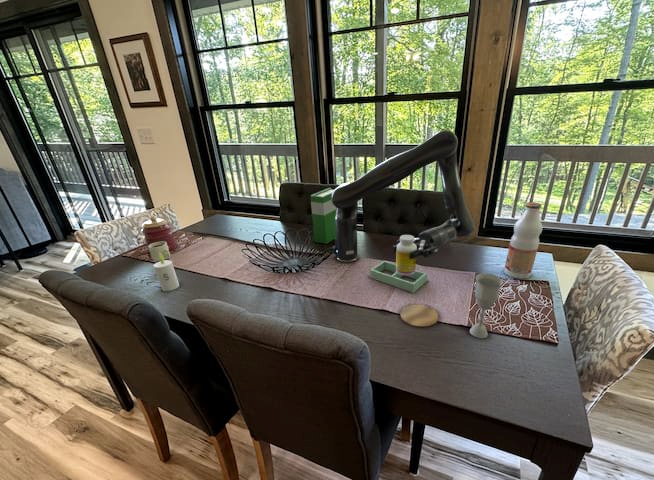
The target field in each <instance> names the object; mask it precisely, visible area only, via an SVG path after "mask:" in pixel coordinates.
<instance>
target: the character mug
mask: <svg viewBox="0 0 654 480" xmlns="http://www.w3.org/2000/svg"><path fill="white" fill-rule="evenodd" d="M148 248H149V250H148V252H149V251H150V252H149V254H150V256H151V260H153V261H154V262H155V263H157V262H160V257H159V252H160V253H161V254H162V256H163V258H164V260H170V261H171V259H170V257H171V251H170V252H169V249H168V246H167V243H166V242H156V243H152V244H150V245H149V246H147V249H148Z"/></svg>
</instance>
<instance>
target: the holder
mask: <svg viewBox="0 0 654 480" xmlns="http://www.w3.org/2000/svg"><path fill="white" fill-rule="evenodd" d="M384 270H385V271H388V272H392V275H391V274H388V273H384V272H383V271H384ZM403 277H405V276H404V275H400V274H398V273H397V272H396V263H394V262H390V261H386V260H383V261H382V262H380V263H379V264H376V265H375V266H373V267H372V268H370V269H369V278H371V279H373V280H377V281H379V282H381V283H384V284H388V285H391V286H393V287H396V288H399V289H402V290H405V291H407V292H410V293H415V292H416V291H417V290H418V289H419V288H421V287H422V286H423V285H424V284H426V282H427V278H428V273H426V272H423V271H420V270H417V269H415V273H414V274H412V275H409V276H406V277H408V278H410V279H414V281H413V282H412V281H408V280H405V279H402V278H403Z"/></svg>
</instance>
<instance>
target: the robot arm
mask: <svg viewBox="0 0 654 480" xmlns="http://www.w3.org/2000/svg"><path fill="white" fill-rule="evenodd" d="M458 140H459V139H458V137H457V135H456V133H455V132H453V130H449V129H442V130H439V131H437V132H436V133H434V134H433V135H432V136H431V137H430V138H428V139H427V140H425V141H423V142H421V143H420V144H418V145H417V146H415V147H414V148H412V149H409V150H406V151H403V152H401V153H399V154H396V155H394V156H392V157H390V158H388V159H386V160H385V161H383V162H380V163H379V164H377V165H376V166H374V167H373V168H371V169H370V170H368V171H367V172H366V173H365V174H363V175H362V176H361V177H359V178H358V179H356V180H354V181H352V182H344V183H341V184H339V185H338V186H337V187H336V188H335V189H333V190H334V192H333V194H332V203H333V205H334V206H335V207H337V212H336V216H335V225H336V238H335V239H334V245H332V246H331V247H328V248H326V249H325V250H324V251H322V252H309V251H300V250H295V249H287V248H286V249H285V248H280V247H276V246H275V247H274V246H270V245H265V244H261V243H256V242H251V241H249V240H248V241H247V240H243V239H240V238H239V239H238V238H235V237H231V236H226V235H220V234H214V233H208V232H198V231H192V234H194V235H204V236H212V237H217V238H223V239H228V240H233V241H237V242H241V243H246V244H248V245H249V244H250V245H253V246H258V247H261V248H267V249H270V250H271V249H272V250H277V251H283V252H287V253H294V254H295V253H296V254H301V255H311V256H321V255H324V254H326V253H327V252H328V251H330V252H331V253H332V254H335V259H337V261H339V262H341V263H352V262H355V261H357V260H358V258H359V255H358V222H357V221H358V220H357V219H358V212H359V211H358V210H359V208H358V205H359V204H358V203H359V201H361V200H363V199H364V198H366V197H368V196H370V195H373V194H375V193H378V192H380V191H382V190H384V189H387V188H389V187H391V186H393V185H395V184H397V183H399V182H401V181H403V180H404V179H406V178H408V177H410V176H411V175H413V174H414V173H416V172H417V171H419V170H420V169H422V168H424V167H426V166H428V165H431V164H433V163H435V162H437V164H438V167H439V168H438V169H439V172H440V179H441V188H442V196H443V201H444V206H445V210H446V213H447V214H449V215H451V216H452V215H453V216H455V217H456V218H450V219H448V220H446V221H445V222H443V224H441V225H439V226H434V227H432V228H428V229H426V230H424V231H422V232H420V233H418V235H417V236H416V237H414V242H413V243H414V244H415V245H416V246H417V250H415V251H413V252H410V255H409V258H410V259H413V258H416V259H417V258H418V257H419V258H420V257H423V258H424V259H426V258H427V259H428V258H430V257H432V256H435V255H437V254H438V250H439V249H440V248H442V247H444V246H445V245H447V244H448V243H451V242H453V241H454V240H455V239H456V237H470V236H471V235H473V232H474V231H475V223H474V220H473V218H472V215H471V213H470V212H469V210H468V207H467V206H466V201H465V195H464V190H463V186H462V181H461V178H460V174H459V173H460V172H459V169H458V162H457V161H458V159H457V149H458V144H459V141H458ZM399 243H400V238H399V239H397V240H396V244H395V245H392V252H393V253H396V252H397V245H398V244H399Z"/></svg>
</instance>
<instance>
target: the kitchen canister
mask: <svg viewBox="0 0 654 480" xmlns="http://www.w3.org/2000/svg"><path fill="white" fill-rule="evenodd" d="M141 227H142V229H141V231H140V232H142V233H143V239H144V241H145V244H146V246H147V250H148V252H149V253H150V251H149V248H148V246H149V245H150V244H152V243H156V242H166V243H167V246H168V249H169V252H170V253H171V252H172V251H174V250H175V249H177V242H176V240H175V237H174V234H173V230H172V229H171V224H170V223H168V220H166V219H164V218H157V217H156V216H150V218H149V219H148V220H146V221H144V222H143V223H142V224H141Z"/></svg>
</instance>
